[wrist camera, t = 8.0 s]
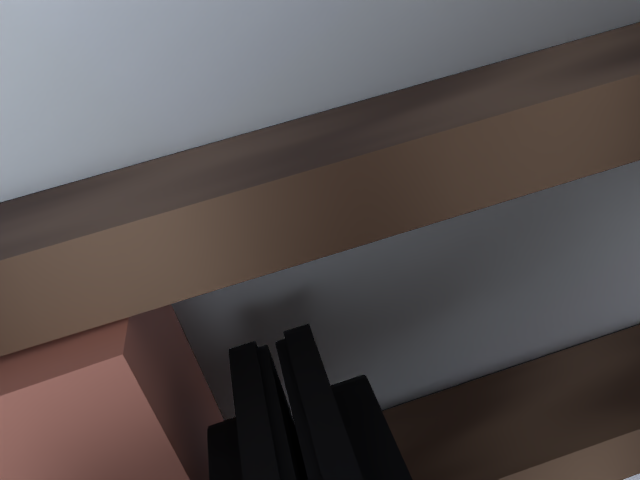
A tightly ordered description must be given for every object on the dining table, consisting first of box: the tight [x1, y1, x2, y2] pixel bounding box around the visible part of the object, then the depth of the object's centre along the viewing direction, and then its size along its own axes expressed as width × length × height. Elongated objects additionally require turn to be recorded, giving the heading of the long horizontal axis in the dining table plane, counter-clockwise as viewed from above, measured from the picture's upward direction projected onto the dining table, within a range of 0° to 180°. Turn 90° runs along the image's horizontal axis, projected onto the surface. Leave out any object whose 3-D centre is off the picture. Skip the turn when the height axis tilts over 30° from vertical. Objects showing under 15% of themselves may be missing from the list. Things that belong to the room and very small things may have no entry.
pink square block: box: [0, 304, 224, 480], centre depth 11 cm, size 6×6×4 cm
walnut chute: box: [0, 22, 640, 480], centre depth 12 cm, size 20×10×3 cm, turn 103°
